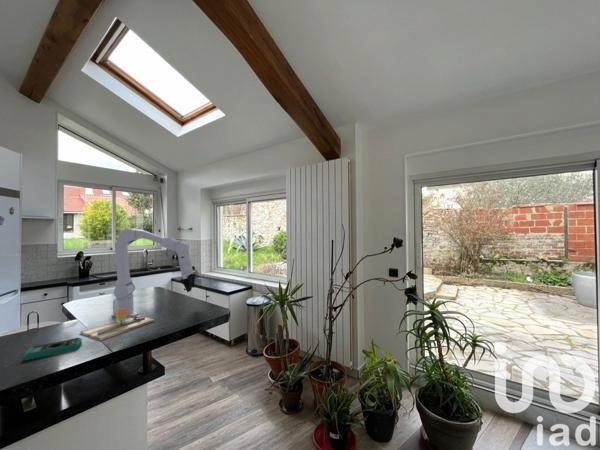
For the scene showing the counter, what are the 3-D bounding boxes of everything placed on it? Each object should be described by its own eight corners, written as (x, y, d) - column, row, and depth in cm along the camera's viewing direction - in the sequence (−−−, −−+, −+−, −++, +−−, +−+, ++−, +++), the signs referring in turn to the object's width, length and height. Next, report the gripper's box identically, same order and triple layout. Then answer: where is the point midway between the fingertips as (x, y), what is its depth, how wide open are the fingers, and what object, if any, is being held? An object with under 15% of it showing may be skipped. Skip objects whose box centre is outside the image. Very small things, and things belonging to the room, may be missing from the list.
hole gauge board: (80, 333, 112) (80, 325, 112) (133, 316, 131) (133, 309, 131) (100, 340, 104) (100, 331, 104) (153, 321, 124) (153, 313, 124)
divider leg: (115, 324, 118) (115, 309, 118) (123, 322, 121) (122, 307, 121) (123, 326, 115) (122, 311, 115) (130, 324, 118) (130, 309, 118)
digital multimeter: (80, 350, 97) (79, 342, 97) (23, 362, 89) (23, 354, 89) (83, 343, 104) (82, 335, 104) (30, 354, 96) (30, 346, 96)
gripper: (190, 264, 134) (196, 290, 134) (195, 260, 148) (200, 284, 149) (175, 267, 133) (181, 294, 133) (182, 263, 147) (187, 287, 147)
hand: (190, 289), depth 141 cm, fingers open, 7 cm apart
